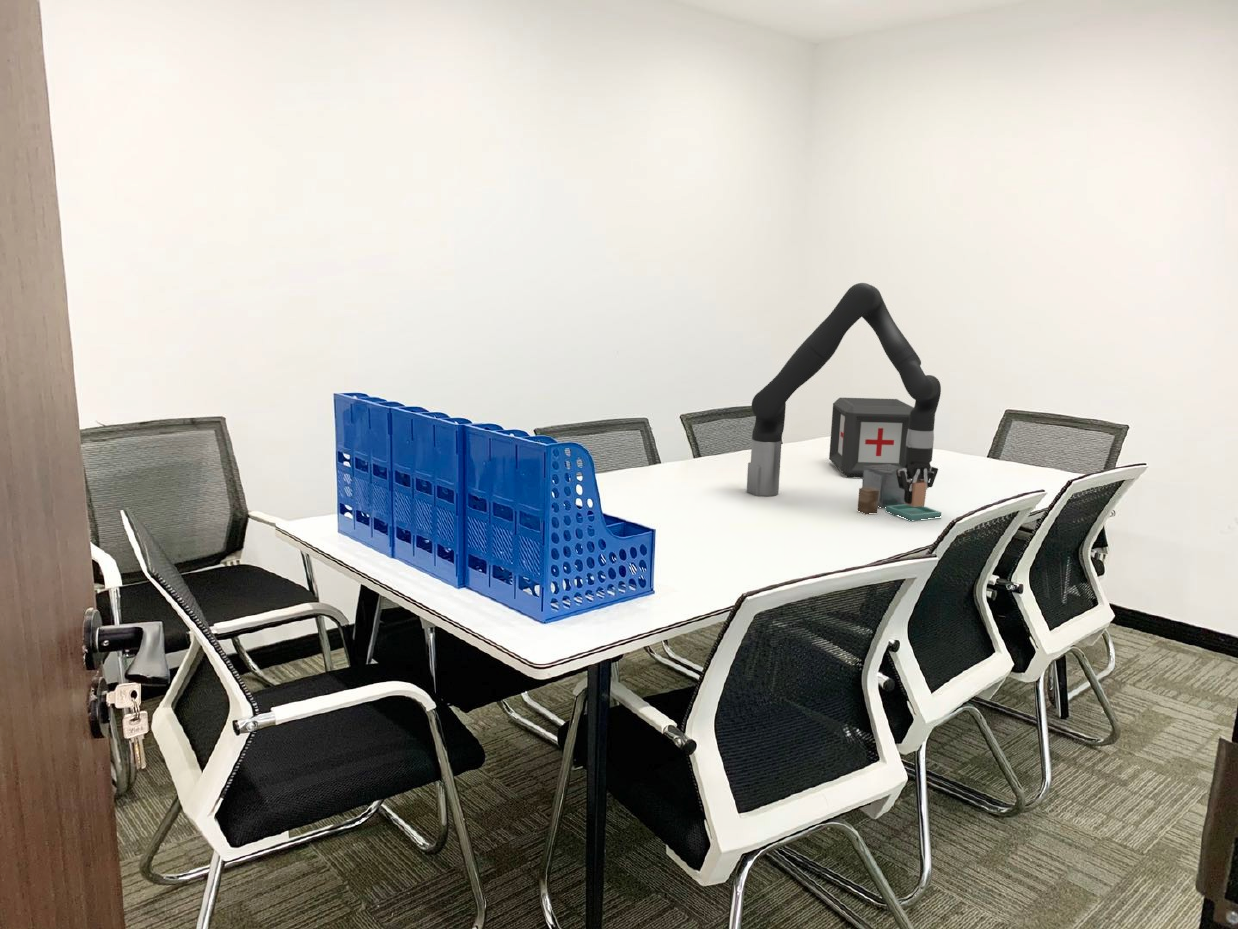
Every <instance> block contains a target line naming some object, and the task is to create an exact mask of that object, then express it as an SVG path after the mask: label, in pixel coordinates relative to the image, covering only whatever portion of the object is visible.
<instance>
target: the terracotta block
mask: <svg viewBox="0 0 1238 929" xmlns="http://www.w3.org/2000/svg"><path fill="white" fill-rule="evenodd" d="M909 485H910V483H909ZM912 492H913V493H912V503H911V504H908V503H905V501H904V504H906V505H909V506H912V507H919V506H925V502H926V496H925V494H927V490H926V482H922V481H919V480H917V481H916V483H915V484H914V485H913V490H912Z"/></svg>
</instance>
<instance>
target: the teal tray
mask: <svg viewBox="0 0 1238 929" xmlns="http://www.w3.org/2000/svg"><path fill="white" fill-rule="evenodd" d="M886 511H887V512H890V513H892V514H894V515H893V516H895V515H899V516H901V517H904V518H906V519H908V520H910V521H912V520H921V519H928V518H935V517H940V516H941V517H942V512H941V511H939V510H936V509H934V508H930V507H928V506H925V505H924V506H919V507H912V506H909V505H906V504H902V505H892V506H886V508H885V512H886ZM887 512H886V513H887ZM890 513H889V514H890ZM892 514H891V515H892ZM908 520H907V521H908ZM910 521H909V522H910ZM921 521H922V520H921ZM912 522H913V521H912Z"/></svg>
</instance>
